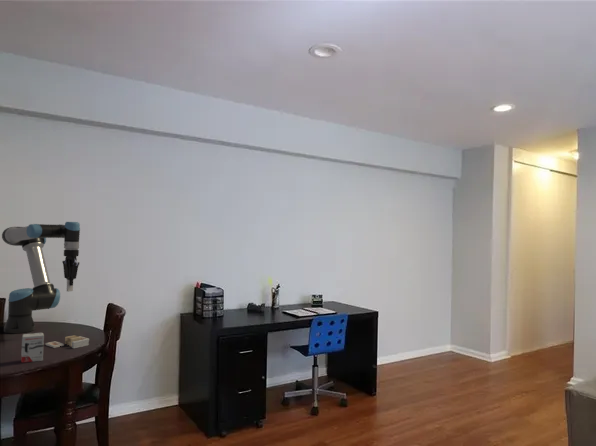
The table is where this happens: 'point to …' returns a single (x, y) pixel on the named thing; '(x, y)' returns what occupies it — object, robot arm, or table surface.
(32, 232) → the robot arm
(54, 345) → the trap pits
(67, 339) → the maple block
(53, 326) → the table surface
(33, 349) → the ink box
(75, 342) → the block
